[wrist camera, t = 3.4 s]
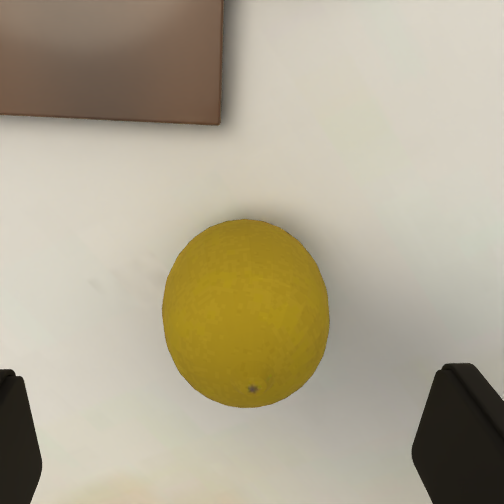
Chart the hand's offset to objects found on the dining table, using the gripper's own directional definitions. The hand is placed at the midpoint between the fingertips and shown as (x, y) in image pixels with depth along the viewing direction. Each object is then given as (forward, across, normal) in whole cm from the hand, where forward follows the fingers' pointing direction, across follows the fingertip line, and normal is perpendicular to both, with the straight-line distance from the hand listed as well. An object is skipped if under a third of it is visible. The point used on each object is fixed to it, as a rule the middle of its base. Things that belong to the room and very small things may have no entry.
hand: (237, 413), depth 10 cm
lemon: (+9, -1, 0) cm, 9 cm away
